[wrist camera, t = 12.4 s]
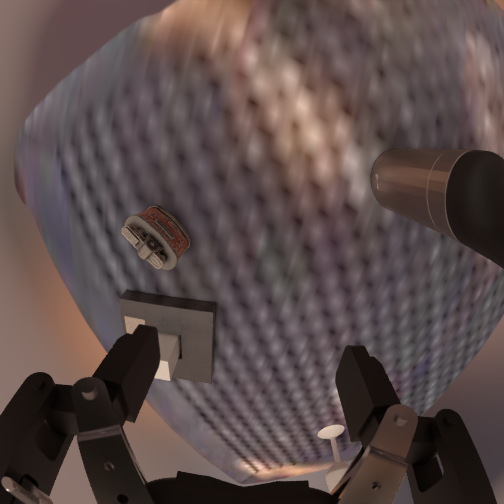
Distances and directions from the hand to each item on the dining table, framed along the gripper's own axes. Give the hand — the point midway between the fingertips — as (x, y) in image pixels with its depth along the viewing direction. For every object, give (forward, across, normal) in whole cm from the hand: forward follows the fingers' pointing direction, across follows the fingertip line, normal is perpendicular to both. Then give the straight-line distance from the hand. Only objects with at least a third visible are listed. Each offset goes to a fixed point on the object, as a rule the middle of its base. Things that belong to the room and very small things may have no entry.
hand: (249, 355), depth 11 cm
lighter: (+28, +12, +2) cm, 30 cm away
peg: (+27, +13, +21) cm, 37 cm away
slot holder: (+27, +13, +21) cm, 37 cm away
